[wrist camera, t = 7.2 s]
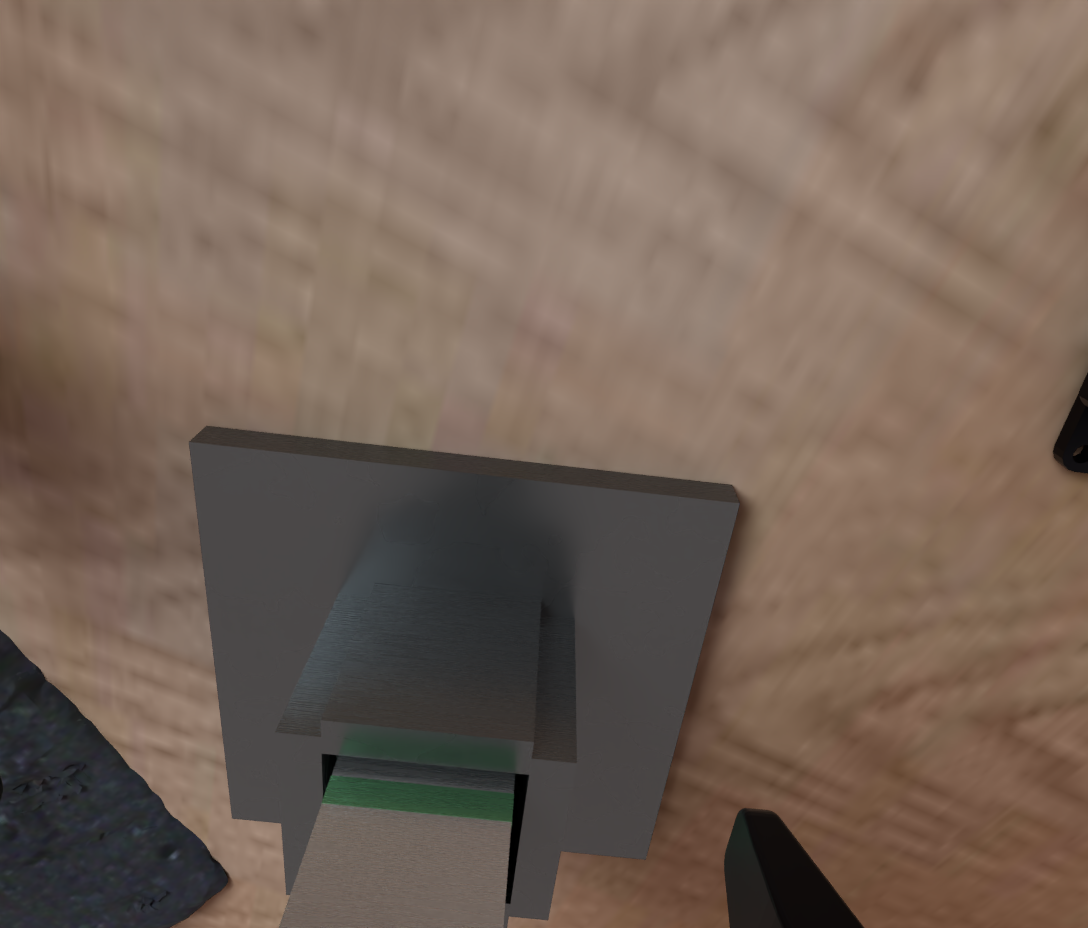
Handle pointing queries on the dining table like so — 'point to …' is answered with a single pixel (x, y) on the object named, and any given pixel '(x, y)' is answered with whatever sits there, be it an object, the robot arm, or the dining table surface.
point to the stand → (455, 631)
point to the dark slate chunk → (84, 822)
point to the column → (406, 848)
